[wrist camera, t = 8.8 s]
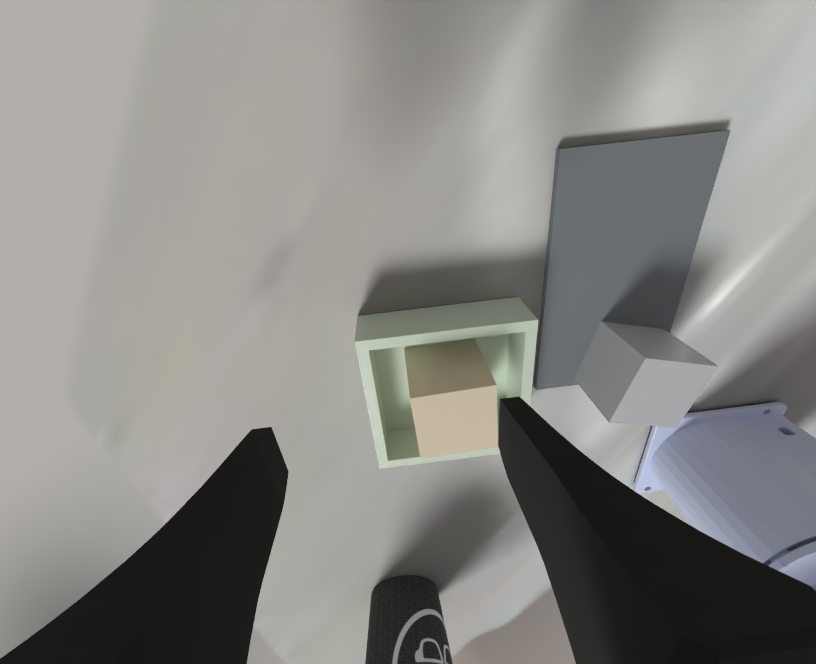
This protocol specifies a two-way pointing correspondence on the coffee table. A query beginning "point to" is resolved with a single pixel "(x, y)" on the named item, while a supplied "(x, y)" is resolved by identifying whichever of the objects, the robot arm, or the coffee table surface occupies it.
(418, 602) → the coffee cup
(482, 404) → the tan wooden cube
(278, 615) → the coffee table surface
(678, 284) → the slate mat
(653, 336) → the matte grey cube
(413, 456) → the green bin
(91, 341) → the coffee table surface
